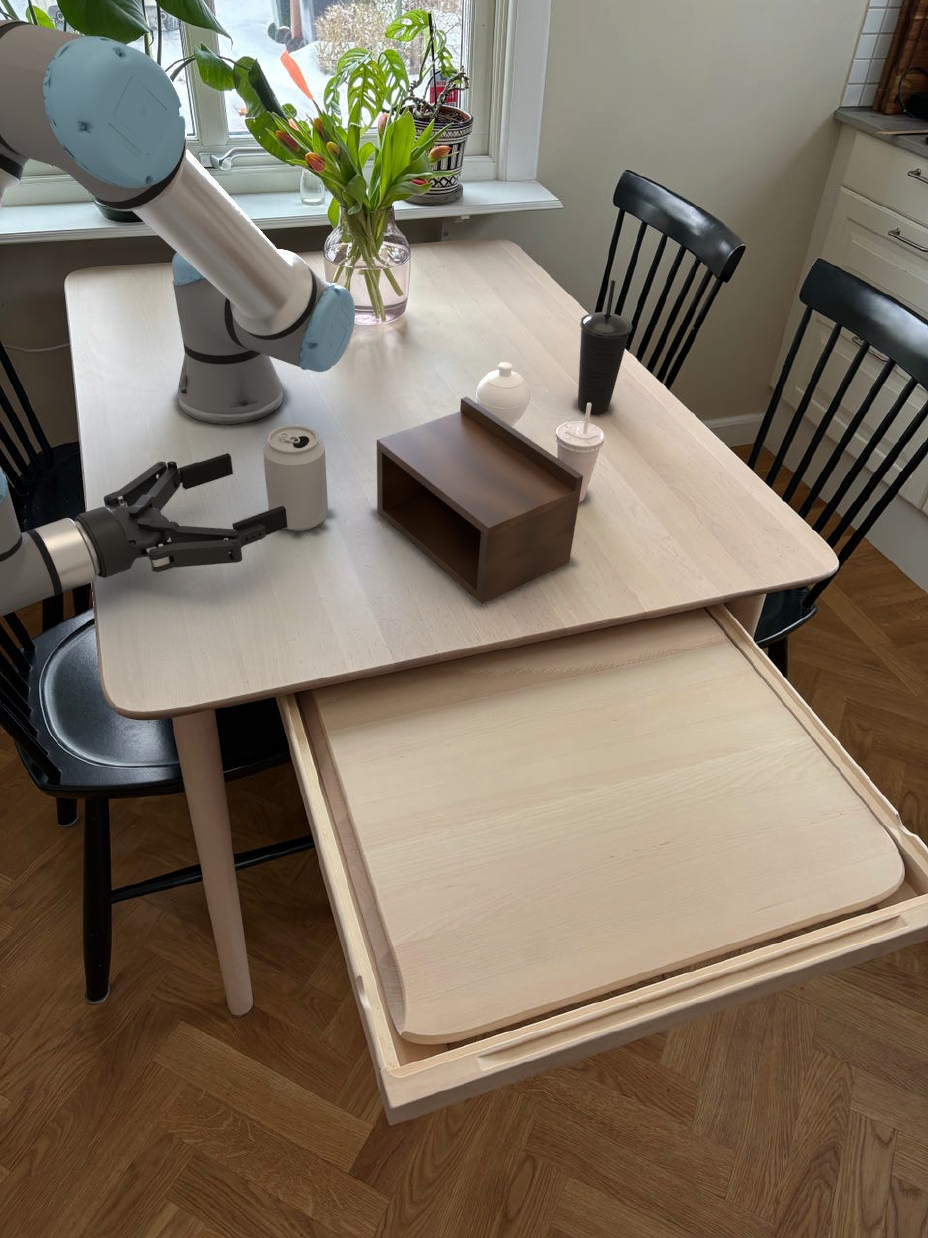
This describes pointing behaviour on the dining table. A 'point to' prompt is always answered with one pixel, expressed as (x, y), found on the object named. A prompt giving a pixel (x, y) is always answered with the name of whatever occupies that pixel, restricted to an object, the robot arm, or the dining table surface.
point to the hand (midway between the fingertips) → (257, 488)
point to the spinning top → (504, 394)
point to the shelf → (479, 499)
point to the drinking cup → (601, 356)
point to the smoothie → (580, 447)
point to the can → (296, 475)
